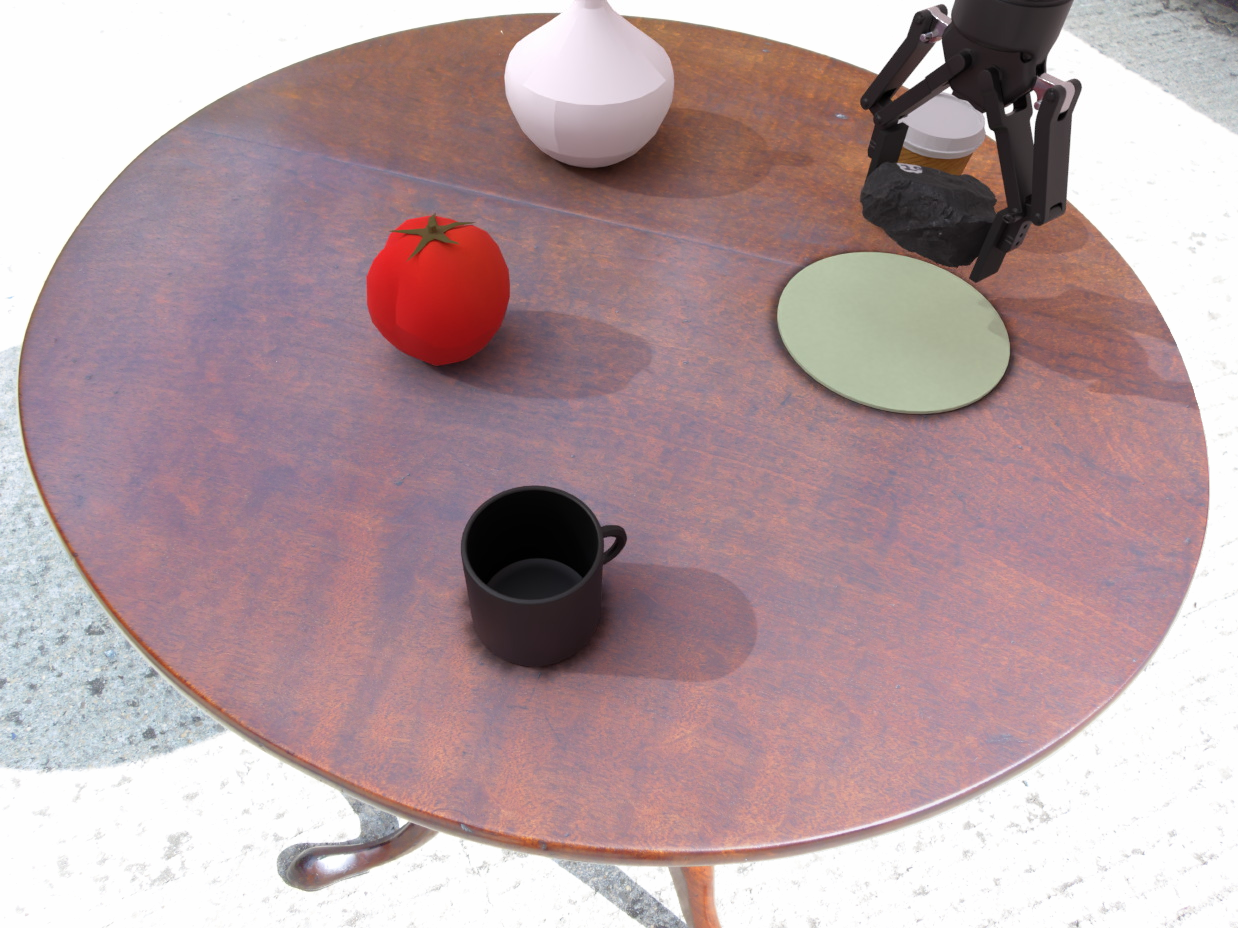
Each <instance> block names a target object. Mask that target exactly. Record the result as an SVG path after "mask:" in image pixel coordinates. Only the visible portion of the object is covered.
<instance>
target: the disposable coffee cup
mask: <svg viewBox="0 0 1238 928" xmlns="http://www.w3.org/2000/svg"><path fill="white" fill-rule="evenodd" d="M985 119H986V118H985V115H984V113H983V114H982V113H981V112H979V111H977V110H976V109H974V107H973V106H972V105H971V104H970V103H969V102H968V101H965V100H961V99H958V98H957V97H955V96H953V95H952V93H949V92H945V91H943V92H941V93H940V94H938V95H937V96H935V97H934V98H932V99H931V100H929V101H928V102H926V103H925V104H923V105H922V106H920V107H919V108H917V109H916V110H914V111H913V112H911V113H910V114H908V116H907V117H905V118H902V119H900V120H899V121H898V124H899V123H901V122H903V123H905V124H906V125H908V126H909V128H908V131H907V134H906V137H905V141H904V144H903V147H902V150H901V153H900V156H899V159H898V163H903V164H910V165H919V166H924V167H928V168H934V169H938V170H941V171H944V172H946V173H949V174H952V175H958V176H959V175H963V174H964V173H963V172H964V171H965V169H966V167H967V165H968V163H969V161H970V160H971V158H972V156H973V154H974V153H975V152H976V151H977V150H978V148H979V147H981V146H982V144H984V141H985V139H986V134H987V133H986V128H985V126H986V120H985Z"/></svg>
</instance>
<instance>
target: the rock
mask: <svg viewBox="0 0 1238 928" xmlns="http://www.w3.org/2000/svg"><path fill="white" fill-rule="evenodd" d="M865 180H866V179H865ZM864 183H865V182H864ZM996 197H997V196H996V195H995V193H994V192H993V191H992V190H991V188H990V187H989V186H988V185H987V184H985V183H984V182H982V181H981V180H979V179H978V178H977V177H975V176H973V175H971V174H967V173H962V174H961V175H959V176H958V175H952V174H949V173H946V172H944V171H941V170H938V169H934V168H928V167H924V166H919V165H910V164H903V163H896V162H895V163H889V162H884V163H883V164H881V165H880V166H879V167H878V168H876V169H875V171H873V172H872V173H871V174H870V175H869V176H868V177H867V180H866V183H865V185H864V184H863V186H862V188H861V190H860V194H859V203H861V206H862V210H861V214H862V217H863V218H864V220H865V221H867V222H869V223H871V224H872V225H873V226H875V227H878V228H881V229H882V230H883V231H884V232H885V235H887V236H888V238H891V240H893V242H895V243H896V244H897V245H898V246H899V247H900V248H902V249H903V250H905V251H907V252H909V253H915V254H917V255H918V256H921V257H922V258H925V259H927V260H930V261H932V262H934V263H935V264H938V265H940V266H944V267H947V268H954V269H955V268H956V269H958V268H959V267H968V266H971V265H972V264H973V262H974V261H976V260H977V258H978V255H979V253H980V251H981V249H982V246H983V244H984V242H985V239H986V237H987V235H988V232H989V230H990V228H991V226H992V223H993V221H994V219H995V216H996V214H997V212H996V210H995V206H996V204H997V202H998V199H997V198H996Z"/></svg>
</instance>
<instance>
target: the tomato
mask: <svg viewBox="0 0 1238 928" xmlns="http://www.w3.org/2000/svg"><path fill="white" fill-rule="evenodd" d="M474 224H477V222H476V221H458V220H455V219H453V218H448V217H443V216H440V215H439V216H438V215H437V213H436V212H434V213H433V214H432V215H425V216H424V215H423V216H419V217H413V218H407V219H405V220H404V221H403V222H402V223H401V224H400V225H399V226H397V227H396V228H395V229H394V230H393V229H392V230H389V231H388V232H390V233H389V235H388V238H387V240H386V242H385V245H384V247H383V249H381V250H380V251H379V252H378V254H376V256H375V257H374V259H373V260H372V263H371V265H370V266H369V270H368V272H367V274H366V279H365V280H366V306H367V309H368V313H369V316H370V320H371V323H372V324H373V326H374V327H375V328H376V329H377V331H378V332H379V333H380V334H381V336H382V337H383V338H384V339H386V340H387V342H389V344H391V346H393V347H394V348H395V349H396V350H398V351H400V352H402V353H404V354H405V355H407V356H409V357H412V358H414V359H417V360H419V361H422V362H424V363H427V364H429V365H432V366H435V367H438V366H439V367H440V366H445V365H450V364H456V363H459V362H463V361H467V360H469V359H470V358H471V357H473V356H474V355H476V354H477V353H479V352H480V351H482V350H483V349H485V348H486V346H487V345H488V344H489V343H490V342H491V340H492V339H493V338H494V336H495V335H496V334H497V332H498V331H499V330H500V328H501V327H502V325H503V321H504V319H505V317H506V314H507V310H508V307H509V302H510V298H511V280H510V270H509V267H508V265H507V263H506V260H505V257H504V255H503V253H502V251H501V248H500V246H499V244H498V243H497V242H496V241H495V239H494V238H493V237H492V236H491V235H490V234H489V232H488V231H486V230H484V229H482V228H480V227H478V226H476V225H474Z"/></svg>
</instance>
